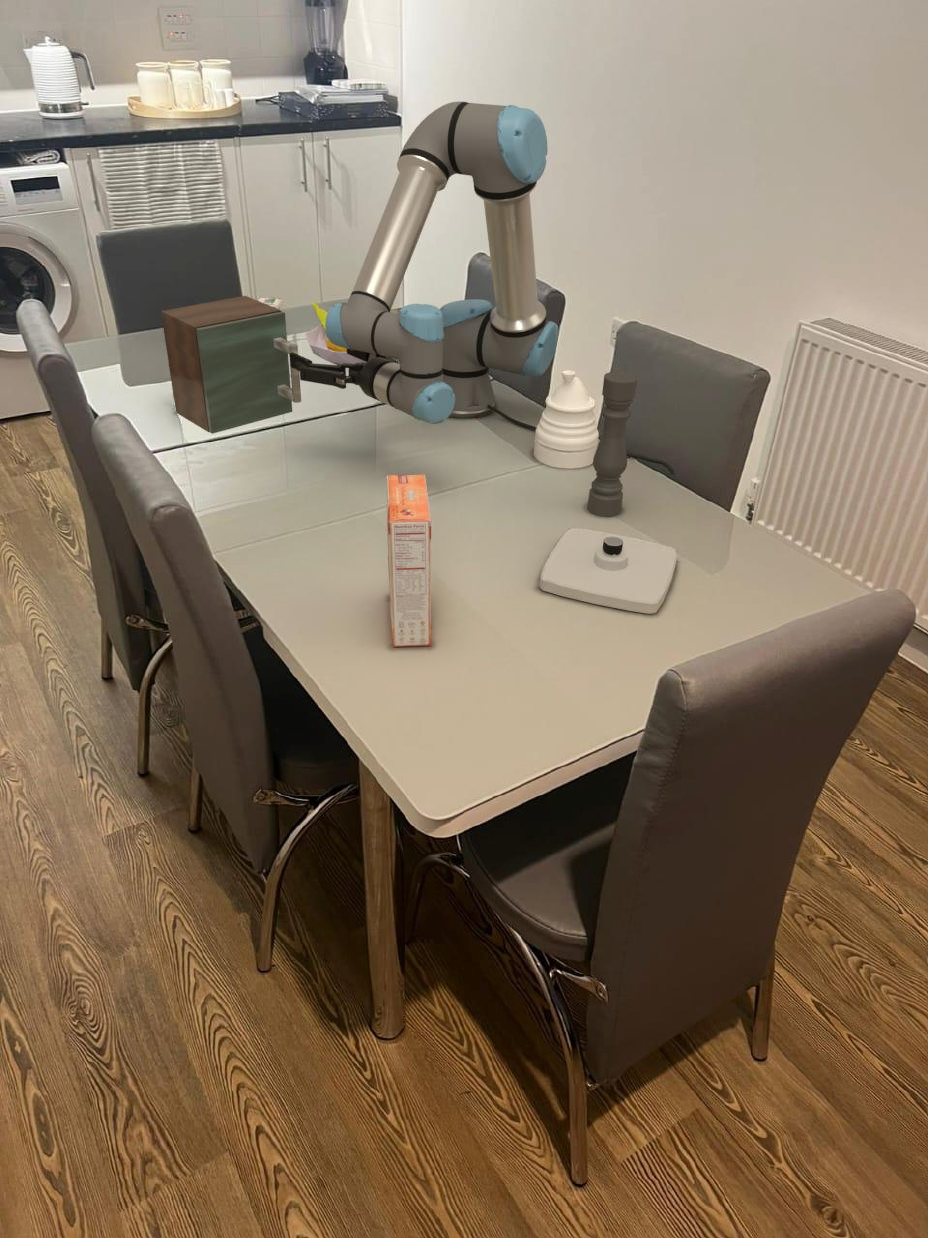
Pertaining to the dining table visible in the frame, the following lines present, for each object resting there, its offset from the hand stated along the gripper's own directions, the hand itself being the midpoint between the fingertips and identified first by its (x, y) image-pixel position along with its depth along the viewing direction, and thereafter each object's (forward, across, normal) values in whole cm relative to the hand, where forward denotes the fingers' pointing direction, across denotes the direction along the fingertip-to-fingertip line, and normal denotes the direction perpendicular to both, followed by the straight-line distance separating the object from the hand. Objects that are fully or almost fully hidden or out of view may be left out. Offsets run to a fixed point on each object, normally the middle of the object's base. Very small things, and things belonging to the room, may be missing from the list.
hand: (320, 352), depth 186 cm
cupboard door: (+13, -7, -18) cm, 23 cm away
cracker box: (-64, -30, -19) cm, 73 cm away
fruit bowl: (+37, +36, -18) cm, 55 cm away
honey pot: (-38, +33, -18) cm, 53 cm away
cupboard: (+24, -7, -18) cm, 31 cm away
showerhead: (-74, +4, -18) cm, 77 cm away
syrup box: (+49, +19, -18) cm, 55 cm away
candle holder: (-59, +21, -18) cm, 65 cm away
